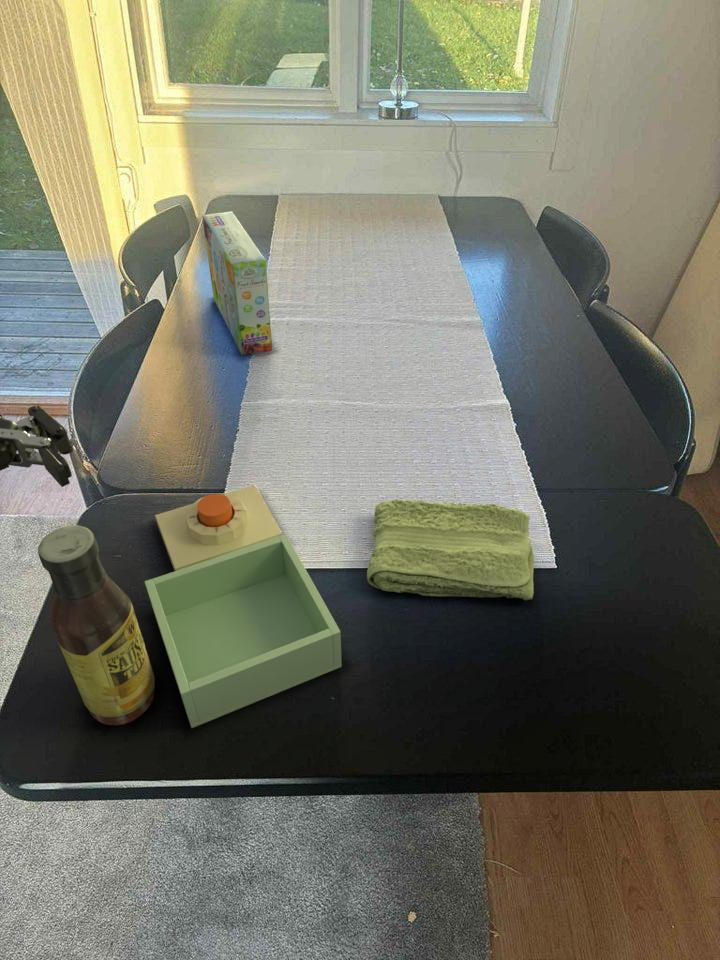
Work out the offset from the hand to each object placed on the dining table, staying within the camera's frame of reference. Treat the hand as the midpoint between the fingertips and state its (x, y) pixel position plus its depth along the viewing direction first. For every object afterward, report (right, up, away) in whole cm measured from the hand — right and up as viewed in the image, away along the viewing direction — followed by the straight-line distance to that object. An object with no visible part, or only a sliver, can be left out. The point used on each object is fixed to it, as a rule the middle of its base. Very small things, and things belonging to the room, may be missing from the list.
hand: (16, 500), depth 59 cm
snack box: (+10, +28, +57) cm, 65 cm away
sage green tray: (+18, -14, +9) cm, 25 cm away
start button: (+13, -2, +18) cm, 23 cm away
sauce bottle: (+8, -18, +5) cm, 20 cm away
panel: (+13, -5, +20) cm, 25 cm away
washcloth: (+39, -7, +18) cm, 44 cm away
